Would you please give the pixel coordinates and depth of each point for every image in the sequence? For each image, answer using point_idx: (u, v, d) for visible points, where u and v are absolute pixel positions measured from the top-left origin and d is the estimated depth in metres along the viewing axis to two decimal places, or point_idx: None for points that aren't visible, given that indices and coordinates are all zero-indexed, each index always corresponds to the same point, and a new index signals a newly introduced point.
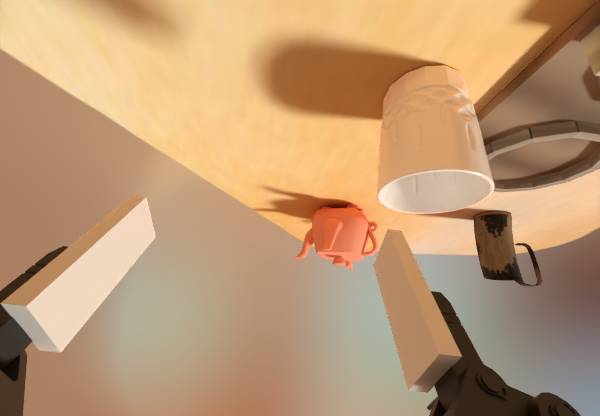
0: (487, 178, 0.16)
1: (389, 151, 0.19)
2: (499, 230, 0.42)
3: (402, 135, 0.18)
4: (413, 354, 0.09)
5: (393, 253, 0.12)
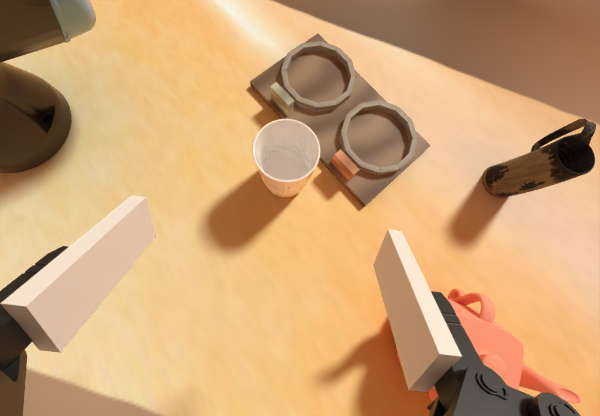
0: None
1: None
2: (502, 168, 0.38)
3: None
4: (413, 354, 0.09)
5: (393, 253, 0.12)
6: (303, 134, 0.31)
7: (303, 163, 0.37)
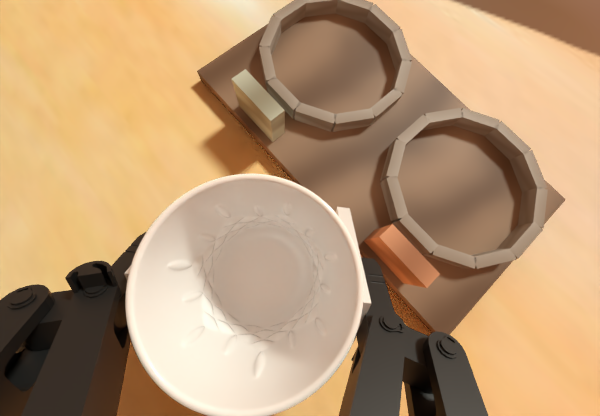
0: (225, 177, 0.09)
1: None
2: None
3: None
4: None
5: None
6: (306, 211, 0.11)
7: (305, 252, 0.16)
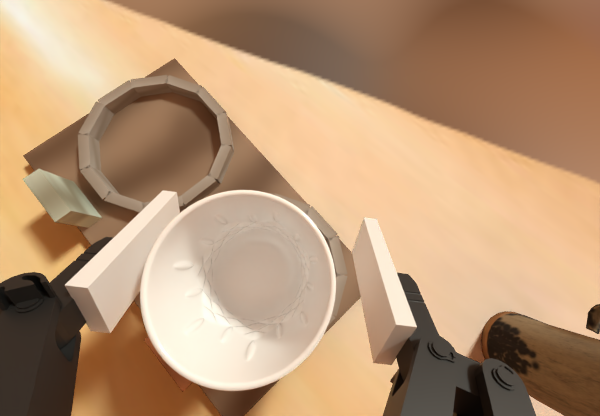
0: (222, 193, 0.11)
1: None
2: (522, 349, 0.18)
3: None
4: (378, 329, 0.10)
5: (366, 239, 0.13)
6: (291, 220, 0.13)
7: (295, 254, 0.18)
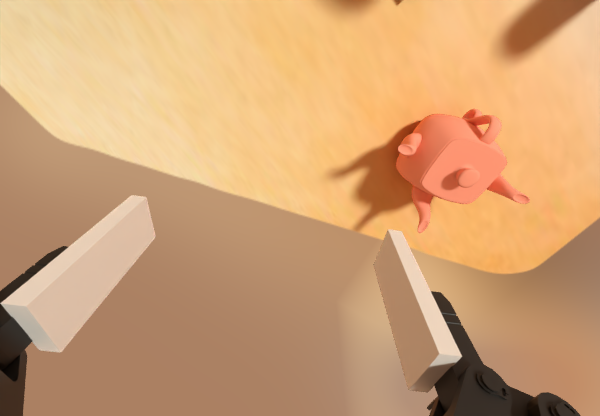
0: None
1: None
2: None
3: None
4: (413, 354, 0.09)
5: (393, 253, 0.12)
6: None
7: None
